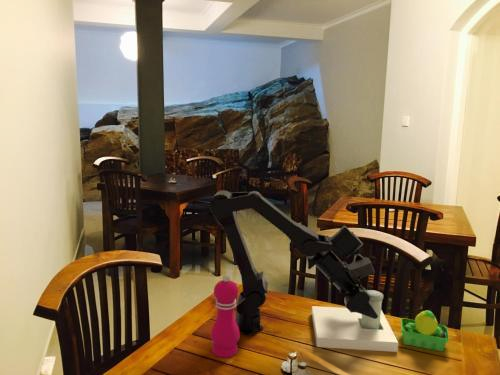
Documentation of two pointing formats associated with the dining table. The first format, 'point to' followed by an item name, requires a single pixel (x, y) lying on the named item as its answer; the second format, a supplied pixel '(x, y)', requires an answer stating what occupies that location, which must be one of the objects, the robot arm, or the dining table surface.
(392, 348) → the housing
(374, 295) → the grey cylinder
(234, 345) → the pepper mill
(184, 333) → the dining table surface
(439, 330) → the fruit basket
